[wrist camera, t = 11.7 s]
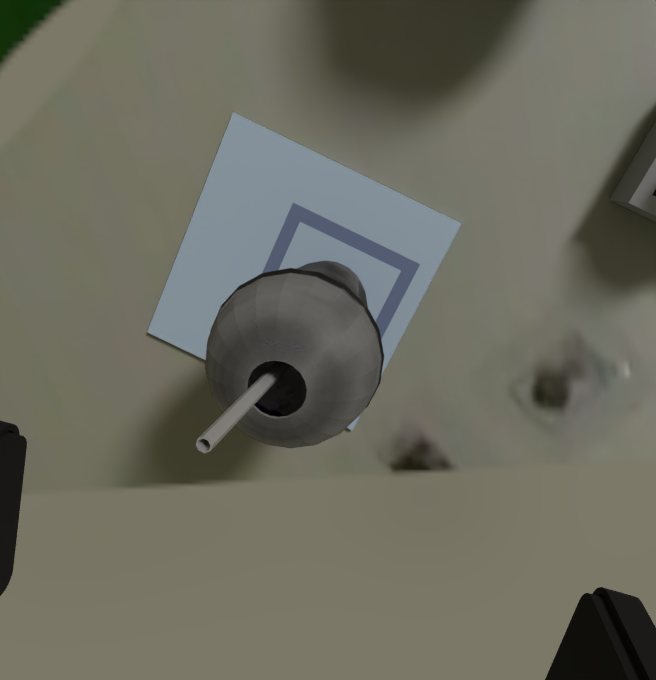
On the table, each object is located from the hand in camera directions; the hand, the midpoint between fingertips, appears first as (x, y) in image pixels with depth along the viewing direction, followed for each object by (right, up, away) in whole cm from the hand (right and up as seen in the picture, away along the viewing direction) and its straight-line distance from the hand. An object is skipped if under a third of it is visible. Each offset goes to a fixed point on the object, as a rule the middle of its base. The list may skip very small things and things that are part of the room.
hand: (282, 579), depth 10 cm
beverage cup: (+1, +6, +27) cm, 27 cm away
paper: (-1, +7, +27) cm, 28 cm away
